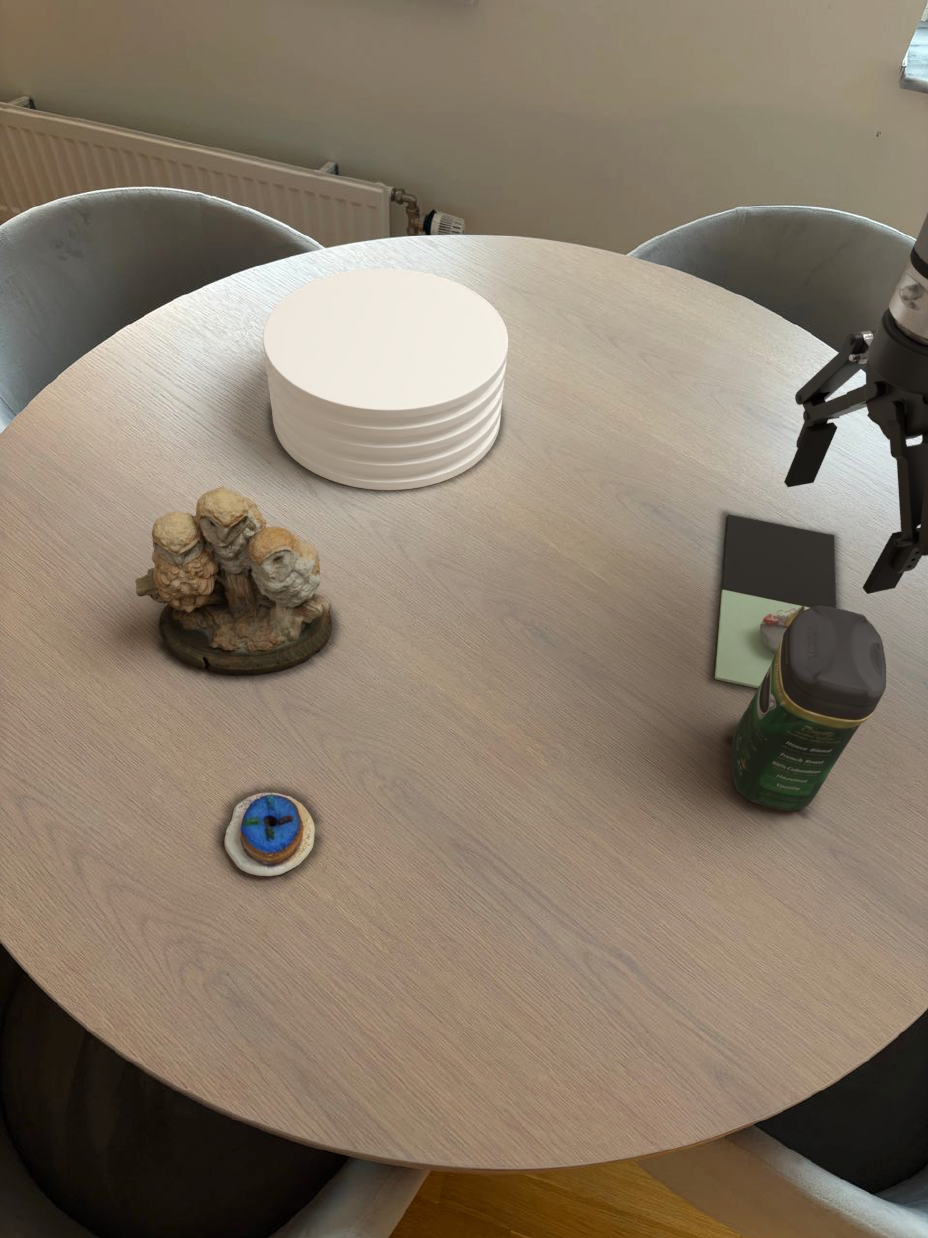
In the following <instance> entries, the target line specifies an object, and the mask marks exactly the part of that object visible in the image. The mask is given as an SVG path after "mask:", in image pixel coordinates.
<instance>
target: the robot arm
mask: <svg viewBox="0 0 928 1238" xmlns="http://www.w3.org/2000/svg"><path fill="white" fill-rule="evenodd" d="M864 367H865V384H863V385H862V386H859V387H857V388H854V389H851V390H849V391H846V393H845V394H842V395H840V396H837V397H834V398H832V399H829V400H828V398H830V397H831V396H832V395H833V394H834V393H835V392H837V391H838V390H839V389H840V388H841V387H842V386H843V385H844V384H845V383H847V382H848V381H849V380H850V379H851V378H853V377H854V376H855V375H856V374H857V373H858V372H859V371H861V370H862V369H863V368H864ZM794 400H795V403H796V405H798V406H802V407H803V413H802V418H803V421H804V422H803V424H802V427H801V429H800V432H799V433H798V437H797V439H796V446H795V447H796V448H797V449H796V451H795V454H794V455H793V459H792V461H791V463H790V467H789V468H788V472H787V474H786V476H785V478H784V481H783V483H784V484H785V486H786V487H787V488H793V487H798V486H803V485H808V484H814V483H815V480H816V478H817V476H818V473H819V472H820V470H821V466H822V465H823V462H824V460H825V457H826V455H827V454H828V450H829V448H830V446H831V444H832V441H833V439H834V437H835V434H836V432H837V429H838V426H837V425H836V423H835V422H833V421H831V422H829V420H836V419H840V417H842V416H845V415H847V414H850V413H853V412H856V411H859V410H862V409H864V408H867V409H866V410H867V412H868V413H867V415H866V416H867V418H869V420H870V421H871V422H872V423H874V424H876V425H877V426H878V428H879V429H880V431H881V432H882V434H883V435H884V437H885V438H886V439H887V440H888V441H889V449H890V456H891V457H892V458H893V459H895V461H896V470H897V489H898V503H899V520H900V531H896V532H892V533H891V535H890V536H889V538H888V540H887V542H886V544H885V545H884V548H883V549H882V551H881V553H880V555H879V556H878V558H877V560H876V562H875V564H874V566H873V568H872V569H871V571H870V573H869V575H868V576H867V579H866V580H865V582H864V584H863V586H862V589H863V591H864V592H865V593H866V595H869V594H874V593H878V592H884V591H888V590H893V589H896V587H897V586H898V583H899V582H900V580H901V579H902V577H903V575H904V573H905V572H910V571H913V570H914V569H916V567H917V565H918V563H919V562H920V560H921V559H922V557H928V212H927V213H926V216H925V218H924V221H923V223H922V225H921V228H920V230H919V233H918V235H917V238H916V240H915V242H914V244H913V246H912V249H911V250H910V252H909V255H908V256H907V259H906V262H905V264H904V266H903V268H902V271H901V273H900V276H899V278H898V280H897V283H896V285H895V287H894V289H893V292H892V294H891V297H890V299H889V301H888V308H887V309H886V310H884V312H883V314H882V316H881V318H880V321H879V323H878V325H877V327H876V329H871V330H865V331H857V332H852V333H848V335H847V336H846V338H845V340H844V342H843V344H842V345H841V348H840V350H839V352H838V353H837V354H836V355H835V356H834V357H833V358H831V359H830V360H829V361H828V362H827V363H826V364H825V365H824V366H823V367H822V368H821V369H820V370H819V371H818V372H817V373H816V374H814V376H812V377H811V378H810V379H809V380H808V381H807V382H806V383H805V384H804V385H802V386H801V387H800V388H799V389H798V390H797V391H796V393H795V395H794ZM918 437H921V442H920V443H917V444H911V445H907V440H913V439H916V438H918Z"/></svg>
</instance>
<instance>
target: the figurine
mask: <svg viewBox="0 0 928 1238" xmlns="http://www.w3.org/2000/svg"><path fill="white" fill-rule="evenodd" d="M793 608H794V609H792V608H791V609H790V610H788V611H789V613H790V614H787V615H788V616H785V615H779V614H778V613H777V612H776V611H775V612H776V614H777V615H776V616H773V614H769V615H767V616H765V618H764V619H763V622H762V623H761V624H760V635H761V636H762V639H763V641H764V643H765V646H766V647H767V648H769V649H770V650H772V651H774V652H775V653H776V651H777V649H778V646H779V644H780V641H781V639H782V636H783V634H784V632H785V631H786V629H787V628H788V626H789V625H790V623H791V622H792V620H793V619H794V618H795V617H796V616H797V615H798V614H799V613H801V612H802V611H804V609H805V607H803V606H802V607H799V608H798V609H796V608H795V607H793ZM792 610H795V612H794V611H793V613H792V612H790V611H792ZM779 611H784V610H779ZM779 611H778V612H779ZM788 611H787V612H788ZM775 612H774V613H775ZM784 612H785V611H784ZM787 612H786V613H787ZM770 613H772V612H770Z"/></svg>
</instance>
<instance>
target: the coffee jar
mask: <svg viewBox="0 0 928 1238" xmlns="http://www.w3.org/2000/svg"><path fill="white" fill-rule="evenodd" d="M886 663H887V662H886V656H885V649H884V644H883V639H882V637H881V636H880V634H879V632H878V630H877V629H876V628H875V626H874V625H873V624H872V623H871V622H870V621H869V620H868V618H867V617H866V615H864V614H861V613H857V612H854V611H850V610H846V609H842V608H837V607H836V608H833V607H827V606H815V607H812V608H809V609H806V610H804V611H802V612H801V613H799V614H798V615H797V616H796V617H795V618H794V619H793V620H792V622H791V623H790V625H789V626H788V628H787V629H786V631H785V632H784V634H783V636H782V639H781V641H780V644H779V646H778V649H777V651H776V654H775V656H774V659H773V661H772V663H771V665H770V667H769V669H768V671H767V673H766V675H765V677H764V679H763V680H762V682H761V684H760V686H759V688H757V690H756V691H755V693H754V695H753V697H752V699H751V700H750V702H749V704H748V705H747V707H746V709H745V711H744V712H743V714H742V716H741V717H740V720H739V721H738V723H737V725H736V727H735V729H734V734H733V737H732V741H731V752H730V769H731V771H730V772H731V779H732V782H733V785H734V787H735V789H736V790H737V791H738V793H739V794H740V795H741V796H743V797H744V798H745V799H747V800H748V801H750V802H752V803H754V804H757V805H760V806H762V807H766V808H769V809H773V810H779V811H791V812H794V811H800V810H802V809H804V808H807V807H808V806H809V805H810V804H811V803H812V802H813V800H814V799H815V797H816V795H817V794H818V793H819V792H820V789H821V788H822V786H823V784H824V783H825V781H826V780H827V778H828V776H829V774H830V773H831V771H832V770H833V768H834V766H835V765H836V763H837V761H838V759H839V758H840V756H841V755H842V754H843V752H844V751H845V749H846V747H847V746H848V744H849V742H850V741H851V739H852V738H853V736H854V735H855V734H856V732H857V730H858V729H859V728H860V726H861V725H862V724H863V723H865V722H866V721H867V720H868V719H870V718H871V716H872V715H873V714H874V712H875V710H876V708H877V706H878V705H879V703H880V701H881V699H882V697H883V695H884V693H885V690H886V687H887V664H886Z"/></svg>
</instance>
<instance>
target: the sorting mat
mask: <svg viewBox="0 0 928 1238" xmlns="http://www.w3.org/2000/svg"><path fill="white" fill-rule="evenodd" d="M726 517H727V519H726V529H725V531H726V532H725V542H724V546H725V547H724V554H723V555H724V558H723V568H722V569H723V570H722V579H721V580H722V581H721V592H720V593H721V594H720V605H719V606H720V607H719V619H718V620H719V621H718V633H717V646H716V656H715V671H714V680H717V681H721V682H727V683H731V684H735V685H739V686H745V687H749V688H753V689H758V688H759V686H760V684H761V682H762V680H763V679H764V677H765V675H766V673H767V671H768V669H769V667H770V665H771V663H772V661H773V659H774V656H775V654H776V653H775V652H774V651H772V650H770V649H769V648H767V647H766V646H765V643H764V641H763V639H762V636H761V635H760V624H761V623H762V622H763V619H764V618H765V616H767V615H769V614H773V616H776V615H777V614H776V612H777V613H778V614H779V615H785V616H788V615H787V614H790V613H789V611H788V610H790V609H791V608H792V609H794V608H793V607H795V608H796V609H798V608H799V607H802V606H803V607H805V609H804V610H806V609H809V608H812V607H815V606H827V607H833V608H837V597H836V596H837V595H836V593H837V592H836V558H835V557H836V556H835V555H836V554H835V535H834V534H830V533H825V532H821V531H820V532H819V531H815V530H809V529H803V528H799V527H794V526H789V525H785V524H779V523H775V522H769V521H764V520H759V519H754V518H749V517H744V516H740V515H735V514H731V513H730V514H728V515H727V516H726ZM779 610H784V611H785V612H784V611H779ZM775 611H776V612H775ZM778 611H779V612H778ZM787 611H788V612H787ZM793 611H794V612H795V610H792V611H790V612H792V613H793ZM770 612H772V613H770ZM774 612H775V613H774ZM786 612H787V613H786Z"/></svg>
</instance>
